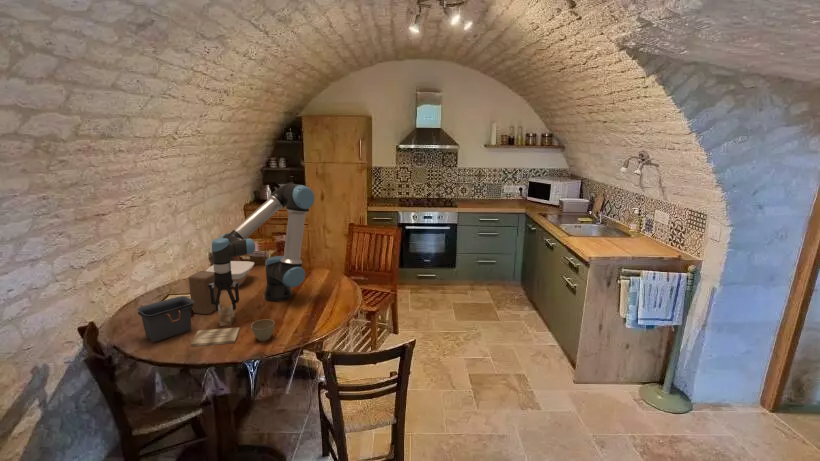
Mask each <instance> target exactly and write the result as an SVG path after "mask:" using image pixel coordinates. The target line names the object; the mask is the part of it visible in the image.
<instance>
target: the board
mask: <svg viewBox="0 0 820 461" xmlns="http://www.w3.org/2000/svg"><path fill="white" fill-rule="evenodd" d="M239 333H240V327H230V328H229V327H224V328H215V329H201V330H200V329H199V330H197V331H196V334H195V335H194V337H193V339H192V340H191V343H190V347H203V346H215V345H226V344H236V342H237V339H238V335H239Z"/></svg>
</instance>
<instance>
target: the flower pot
mask: <svg viewBox="0 0 820 461" xmlns="http://www.w3.org/2000/svg"><path fill="white" fill-rule="evenodd" d="M250 327H251V330H252V332H253V334H254V336H255V337H256V339H257V340H258V341H260V342H265V341H268V340H270V338H271V337H272V335H273V333H274V330H275V321H274V320H272V319H270V318H269V319H267V318H266V319H258V320H256V321H254V322H252V323H251V325H250Z"/></svg>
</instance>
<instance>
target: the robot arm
mask: <svg viewBox="0 0 820 461" xmlns="http://www.w3.org/2000/svg"><path fill="white" fill-rule="evenodd" d="M315 200H316V199H315V194H314V191H313V190H312V189H311V188H310V187H309V186H306V185H303V184H297V183H293V182H291V183H290V182H287V183H285V184H283V185H281V186H279V187H278V188H277V189H276V190H274V191H273V192H272V193H271V194H269V195H268V199H267V200H266V201H265V202H263V203H262V204H261V205H260V206H259V207H258V208H257V209H255V211H253V212H252V213H251V214H250V215H248V216H247V217H246V218H245V219H244V220H243V221H242V222H241V223H239V225H237V226H236V227H235V228H234V229H232V230H231V231H230V232H228V233H224V234H221V236H220V237H219V238H215V239H213V240H212V241H211V253H212V263H213V264H212V265H214V271H215V272H214V276H215V282H214V283H210V284H209V286H208V287H209V289H210V296H211V304H214V305H216V310H215V312H218V314H219V313H220V311H221V309H222V303H221V302H220V303H219V300H221V294H222V291H226V292H227V294H228V296H229V299H230V301H231V303H230V306H231V315H232V317H234V318H235V311H236V308H237V307H236V306H237V305H236V304H239V301H240V292H239V286H238V285H239V282H233V280H232V273H231V261H232V260H231V258H235V257H240V256H245V255H250V254H253V253H255V251H256V244H255V240H253V239H252V238H249V236H251V235H252V234H253V233H254V232H255V231H257V229H258V228H260V227H261V226H262V225H263V224H264V223H266V222H267V220H268V219H270V218H272V216H273V215H275V213H276V212H277V211H279V210H282V209H284V208H285V207H286V208H285V209H286V210H285V211H287V212H288V217H287V223H286V224H287V225H286V233H285V240H284V250H283V255H276V256H271V257H269V258H266V260H265V264H264V265H265V276H266V286H265V289H264V290H265V291H264V292H263V294H264V295H263V296H264V300H266V301H267V302H283V301H286V300H289V299H290V298H292V297H293V291H292V288H297V287H298V286H300V285H301V284H302V283H303V282H304V280H305V278H306V272H305V270H304V268H303V262H304V261H302V259H301V256H302V255H301V254H302V247H303V238H304V230H305V221H306V215H307V214H308V213H309V212H310V208H312V206H313V205H314V204H315ZM232 284H233V285H234V287H233V288H234V293H233V290H232V287H231V285H232ZM214 285H215V286H216V287H217V288H218V293H217V298H216V301H215V297H214ZM234 295H235V296H234Z"/></svg>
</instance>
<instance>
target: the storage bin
mask: <svg viewBox="0 0 820 461" xmlns="http://www.w3.org/2000/svg"><path fill="white" fill-rule="evenodd" d="M193 303H194V301H193V300H191V297H188V296H184V295H182V296H176V297H171V298H169V299H165V300H164V299H163V300H161V301H160V300H159V301H157V302H153V303H148V304H144V305H141V306H139V307H137V308H136V311H137V314H138V315H139V316H140V317H141V320H142V325H143V328H144V334H145V337H146V338H147V339H149V340H150V341H152V342H153V343H156V342H157V343H158V342H159V341H162V340H165V339H168V338H171V337H174V336H177V335H180V334H183V333H187V332H189V331H191V329H192V307H193V306H194V305H193Z"/></svg>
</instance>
